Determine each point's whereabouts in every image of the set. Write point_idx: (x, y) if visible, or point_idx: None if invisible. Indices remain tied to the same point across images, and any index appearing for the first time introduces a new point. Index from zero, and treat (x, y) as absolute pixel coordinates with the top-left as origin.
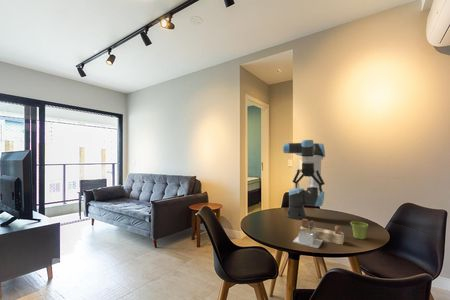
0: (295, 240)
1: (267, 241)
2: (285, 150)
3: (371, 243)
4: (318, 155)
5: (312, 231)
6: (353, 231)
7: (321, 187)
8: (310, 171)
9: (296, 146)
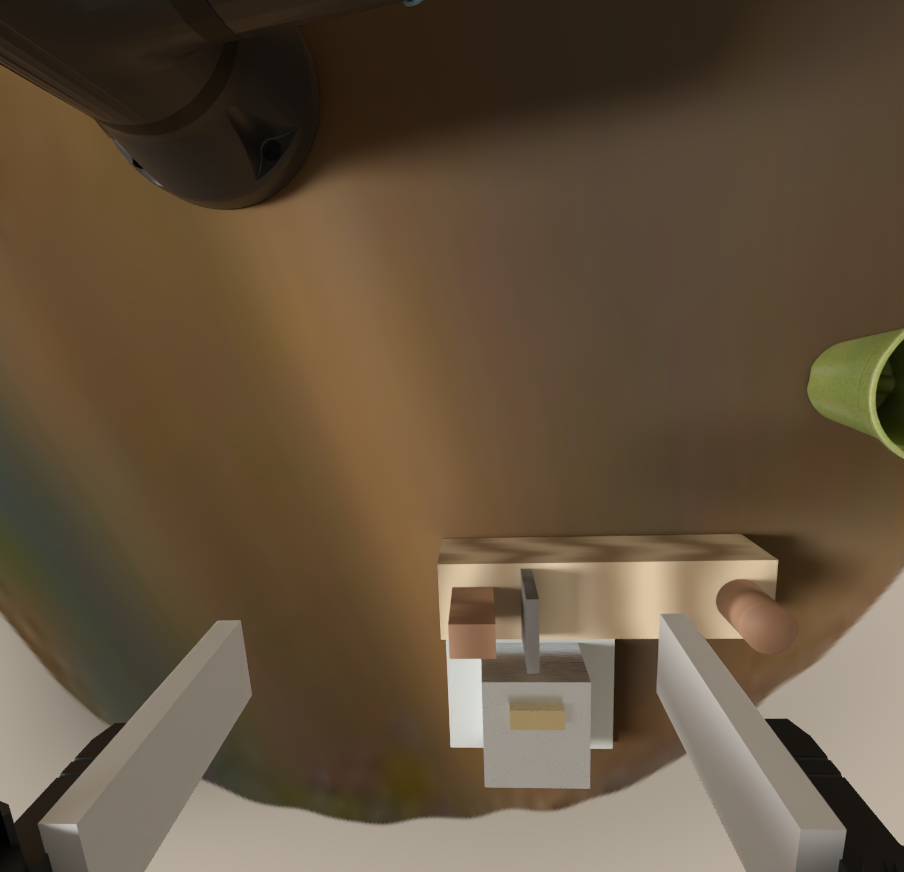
0: (460, 730)
1: (317, 806)
2: None
3: None
4: None
5: (562, 700)
6: (840, 414)
7: (851, 797)
8: None
9: None
